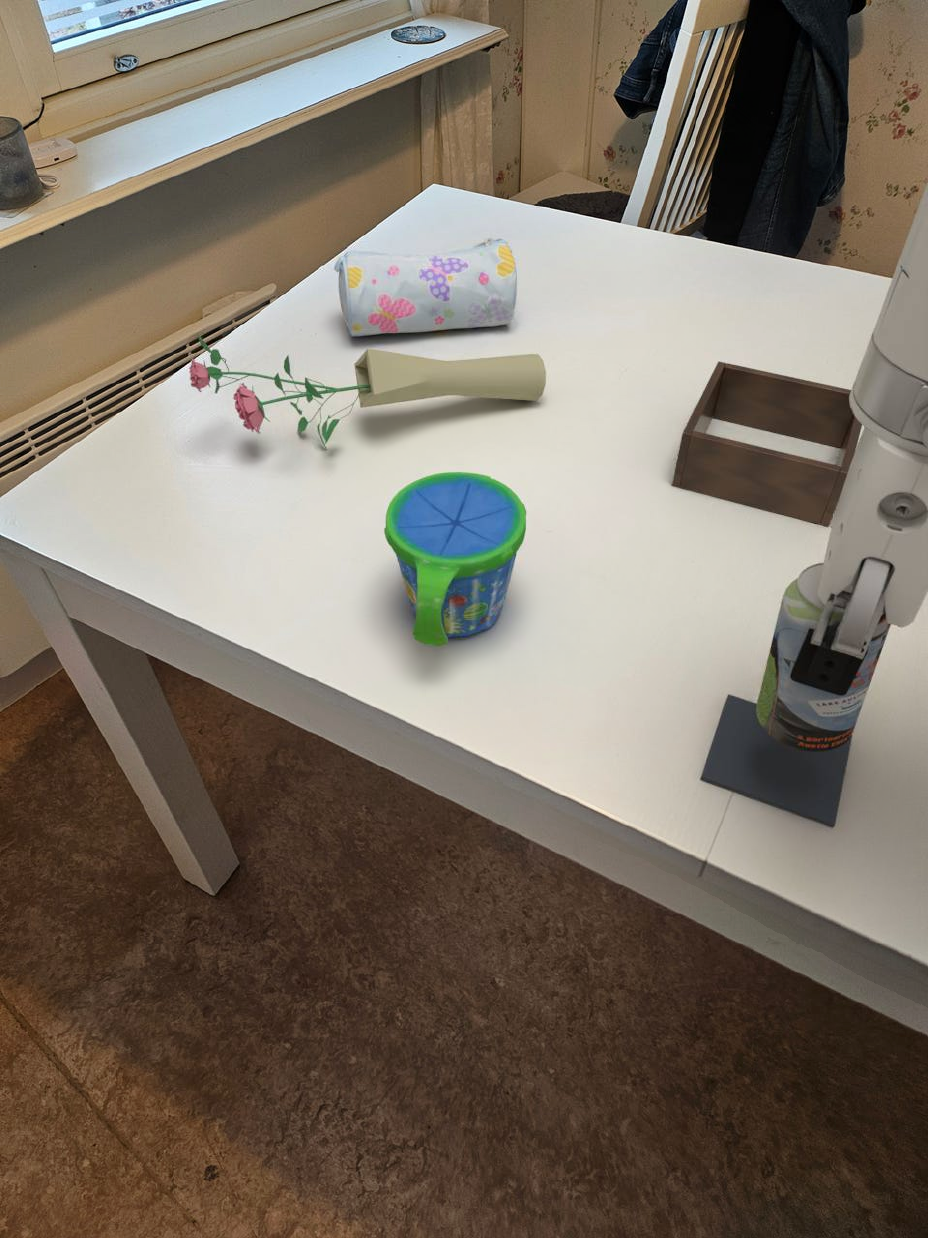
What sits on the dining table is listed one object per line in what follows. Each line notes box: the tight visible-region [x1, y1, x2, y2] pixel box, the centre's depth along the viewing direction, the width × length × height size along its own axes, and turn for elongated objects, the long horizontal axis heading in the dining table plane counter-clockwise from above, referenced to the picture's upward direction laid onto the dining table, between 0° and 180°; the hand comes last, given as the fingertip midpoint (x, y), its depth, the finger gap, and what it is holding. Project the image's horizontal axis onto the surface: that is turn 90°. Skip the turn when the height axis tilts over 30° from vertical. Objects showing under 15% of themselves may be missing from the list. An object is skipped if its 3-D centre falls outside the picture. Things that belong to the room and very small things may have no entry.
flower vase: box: [188, 333, 547, 451], centre depth 87 cm, size 12×12×35 cm
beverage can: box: [756, 561, 892, 752], centre depth 53 cm, size 6×7×12 cm
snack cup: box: [383, 471, 527, 647], centre depth 68 cm, size 16×10×10 cm
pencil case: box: [333, 237, 518, 337], centre depth 101 cm, size 21×9×10 cm, turn 101°
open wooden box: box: [671, 361, 863, 527], centre depth 83 cm, size 15×14×6 cm
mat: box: [700, 693, 853, 828], centre depth 62 cm, size 9×8×1 cm
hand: (827, 643), depth 53 cm, fingers closed on beverage can, 6 cm apart
